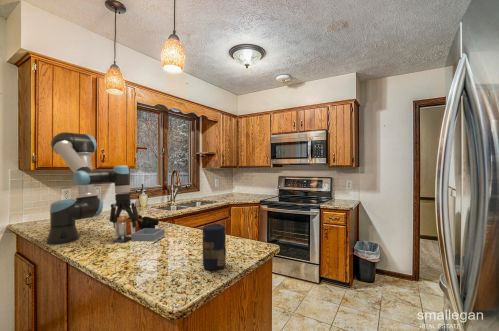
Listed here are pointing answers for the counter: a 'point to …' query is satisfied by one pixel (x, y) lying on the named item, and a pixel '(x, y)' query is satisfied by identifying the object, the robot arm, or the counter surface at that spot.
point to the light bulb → (121, 227)
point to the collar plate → (120, 240)
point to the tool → (141, 224)
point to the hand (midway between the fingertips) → (125, 233)
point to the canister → (214, 246)
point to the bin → (148, 235)
